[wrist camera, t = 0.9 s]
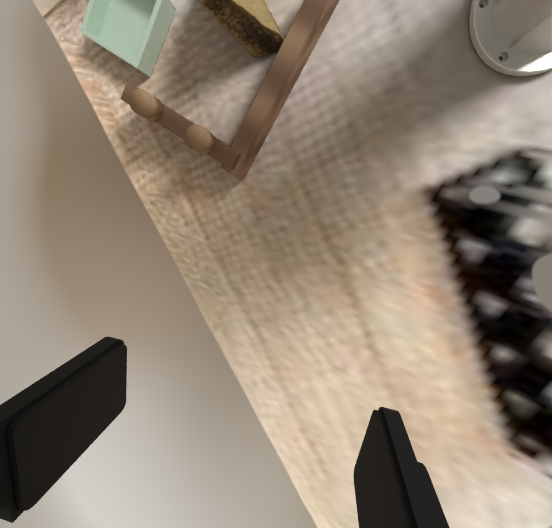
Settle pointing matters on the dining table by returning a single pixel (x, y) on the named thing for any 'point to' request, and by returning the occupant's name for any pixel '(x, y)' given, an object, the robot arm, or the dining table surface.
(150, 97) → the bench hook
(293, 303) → the dining table surface
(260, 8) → the rock
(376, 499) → the robot arm
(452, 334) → the dining table surface
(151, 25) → the tray
